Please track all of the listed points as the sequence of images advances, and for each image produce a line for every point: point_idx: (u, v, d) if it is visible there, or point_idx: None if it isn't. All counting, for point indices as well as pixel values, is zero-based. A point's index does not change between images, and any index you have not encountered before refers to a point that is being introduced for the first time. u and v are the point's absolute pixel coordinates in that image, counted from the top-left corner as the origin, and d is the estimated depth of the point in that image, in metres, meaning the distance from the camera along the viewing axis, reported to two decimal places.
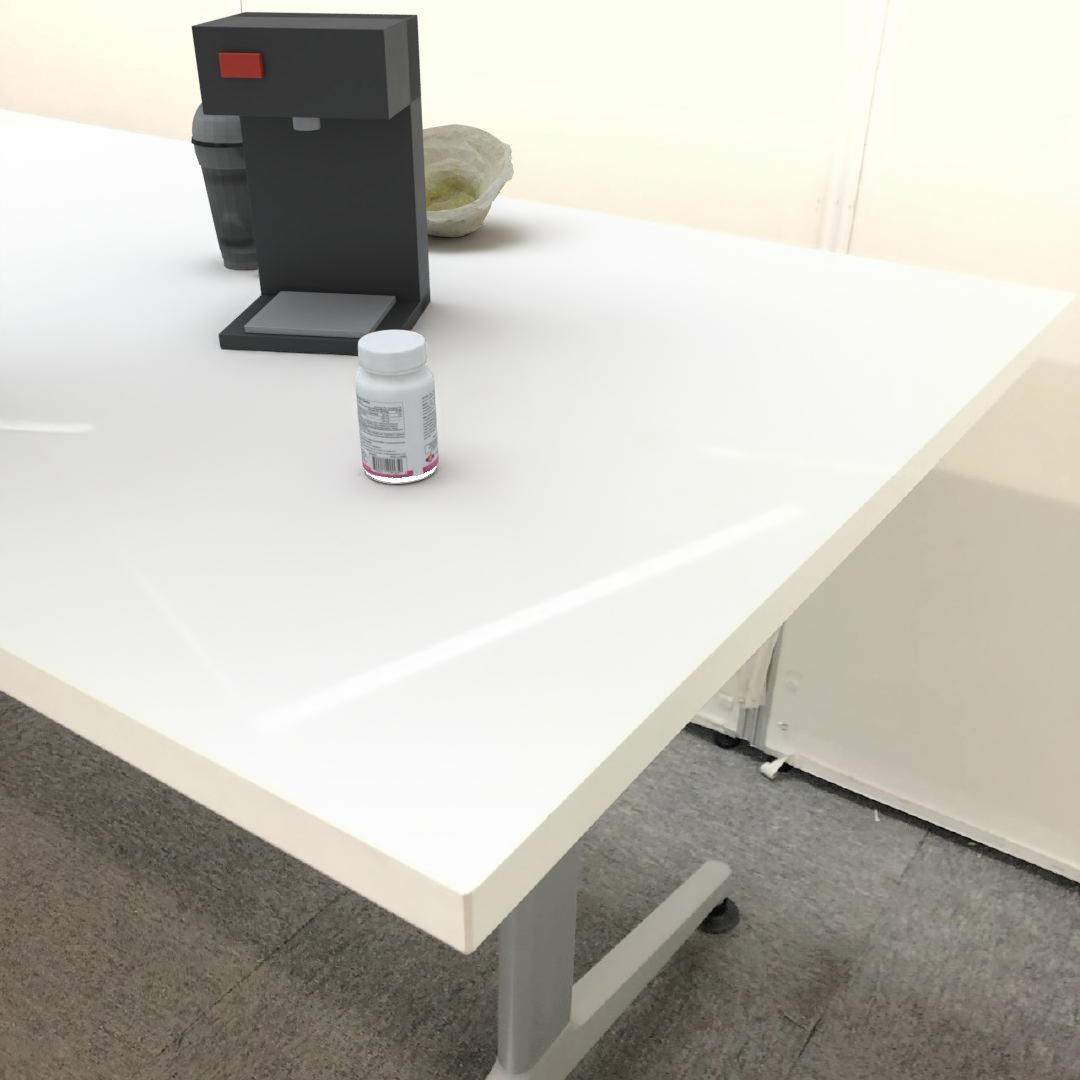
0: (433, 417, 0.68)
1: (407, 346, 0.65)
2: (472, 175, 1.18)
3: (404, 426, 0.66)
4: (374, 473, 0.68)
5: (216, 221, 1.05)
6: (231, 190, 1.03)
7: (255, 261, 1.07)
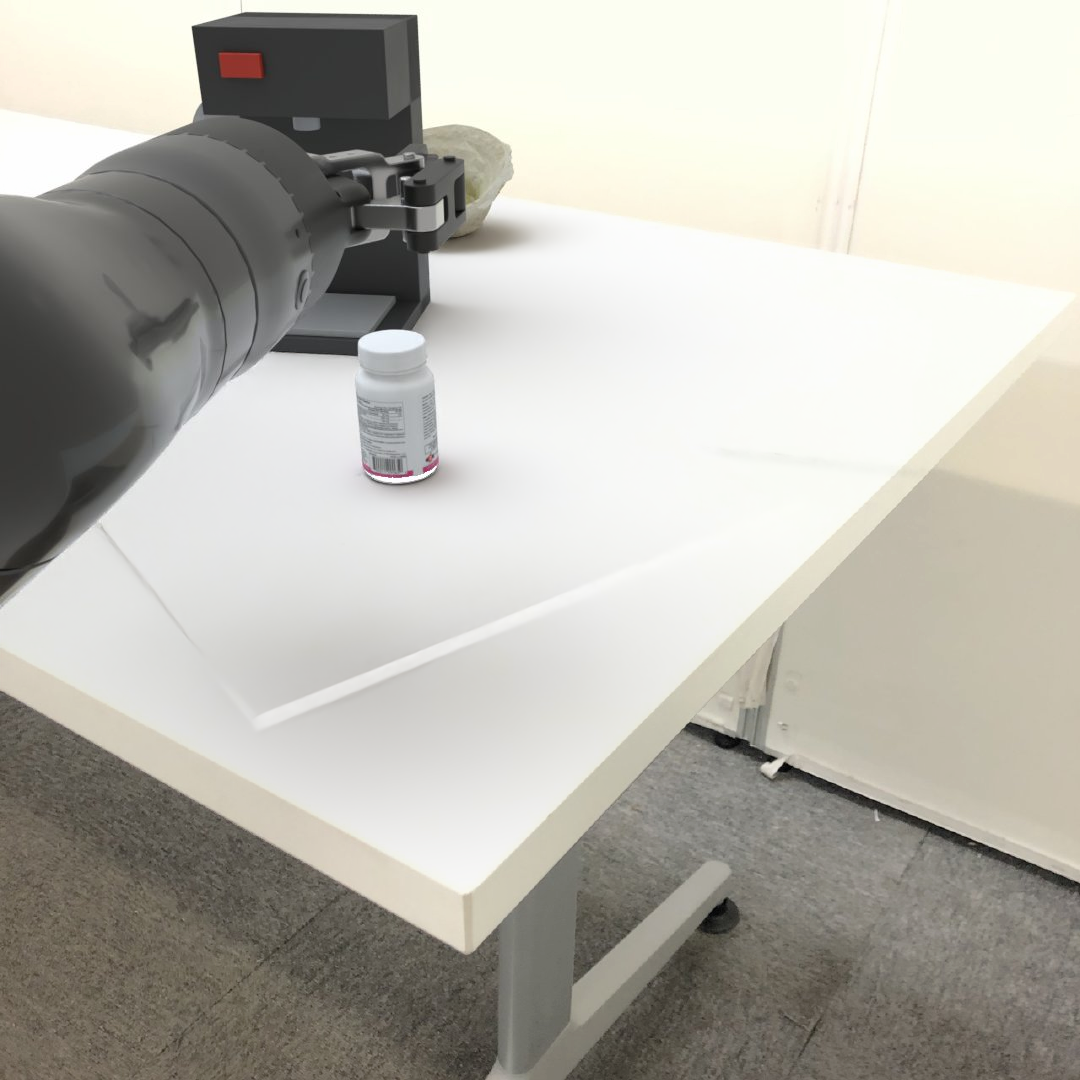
0: (433, 417, 0.68)
1: (407, 346, 0.65)
2: (472, 175, 1.18)
3: (404, 425, 0.66)
4: (374, 473, 0.68)
5: None
6: None
7: None
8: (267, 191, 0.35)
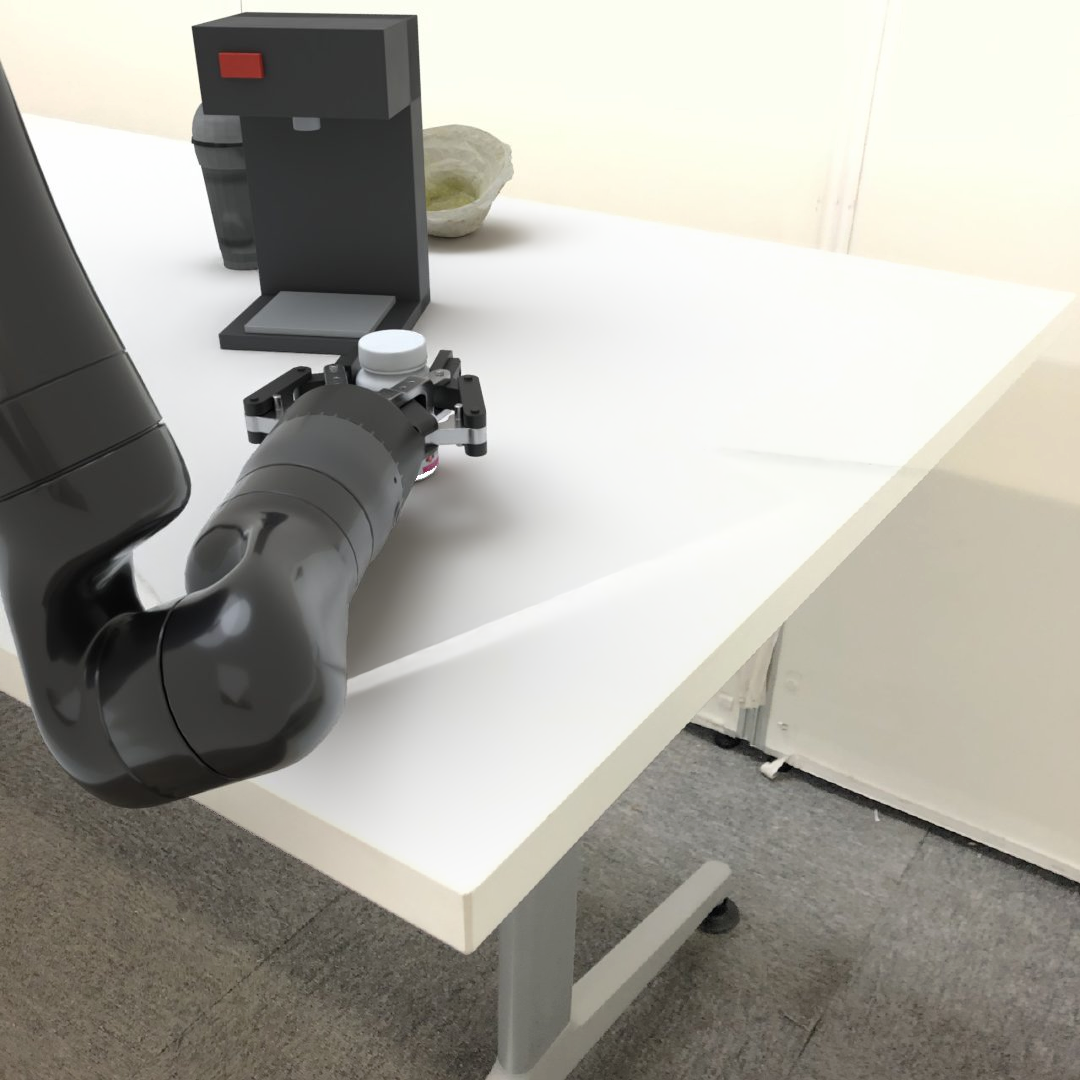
0: None
1: (408, 346, 0.65)
2: (472, 175, 1.18)
3: None
4: None
5: (216, 221, 1.05)
6: (231, 190, 1.03)
7: (255, 261, 1.07)
8: (377, 457, 0.53)
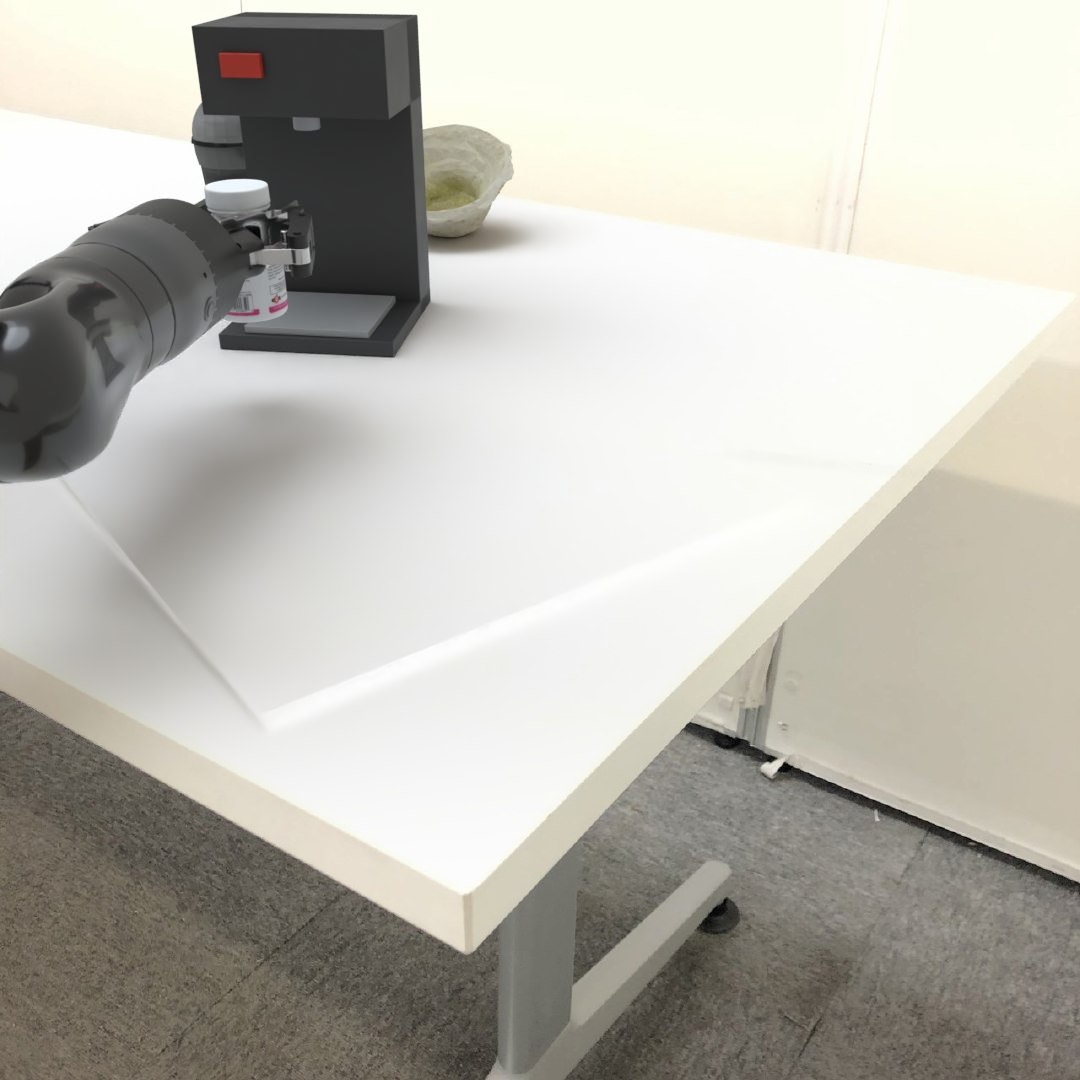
0: None
1: (248, 188, 0.71)
2: (472, 175, 1.18)
3: None
4: None
5: None
6: None
7: None
8: (185, 250, 0.58)
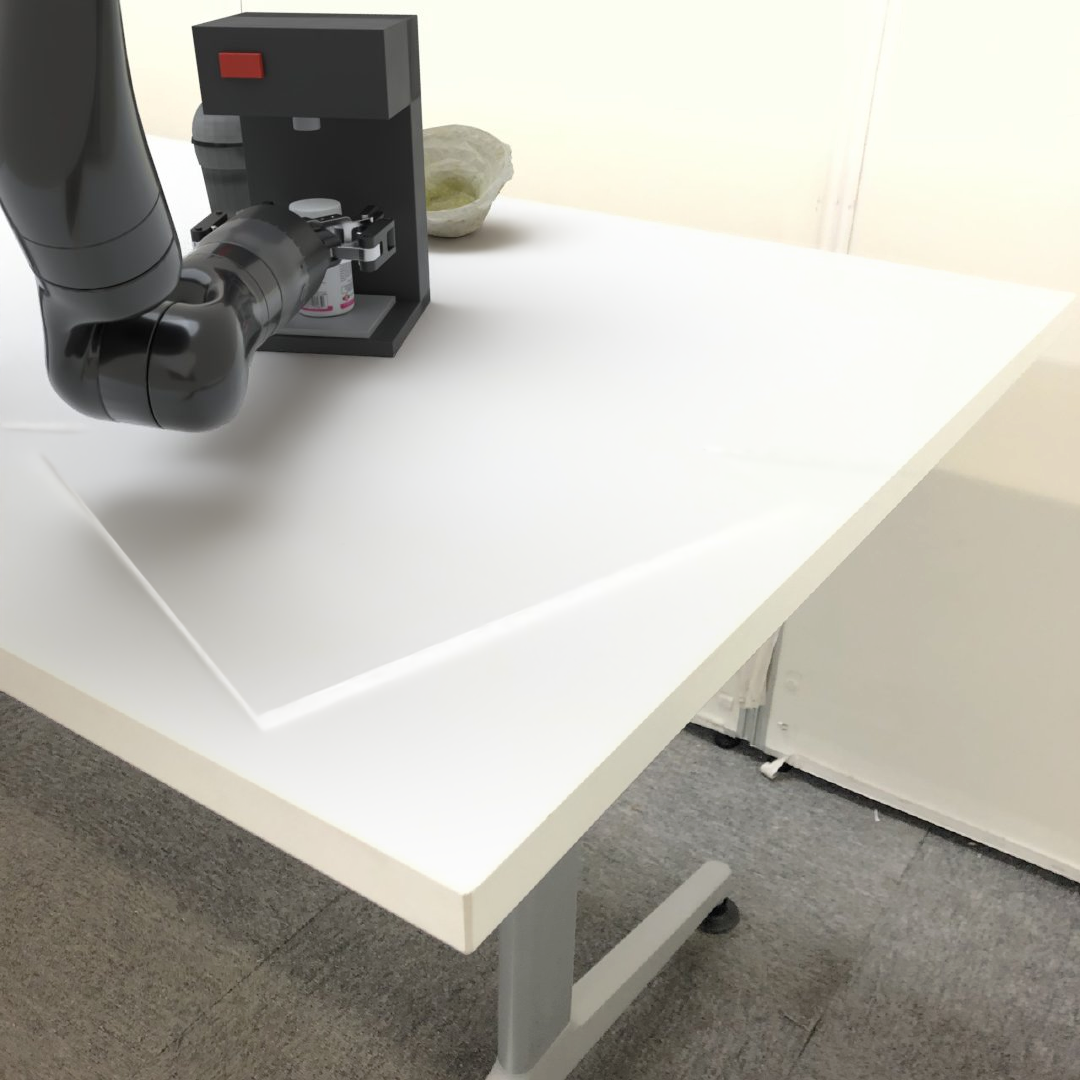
0: (348, 265, 0.89)
1: (326, 207, 0.86)
2: (472, 175, 1.18)
3: None
4: (303, 308, 0.90)
5: None
6: (231, 190, 1.03)
7: None
8: (287, 247, 0.74)
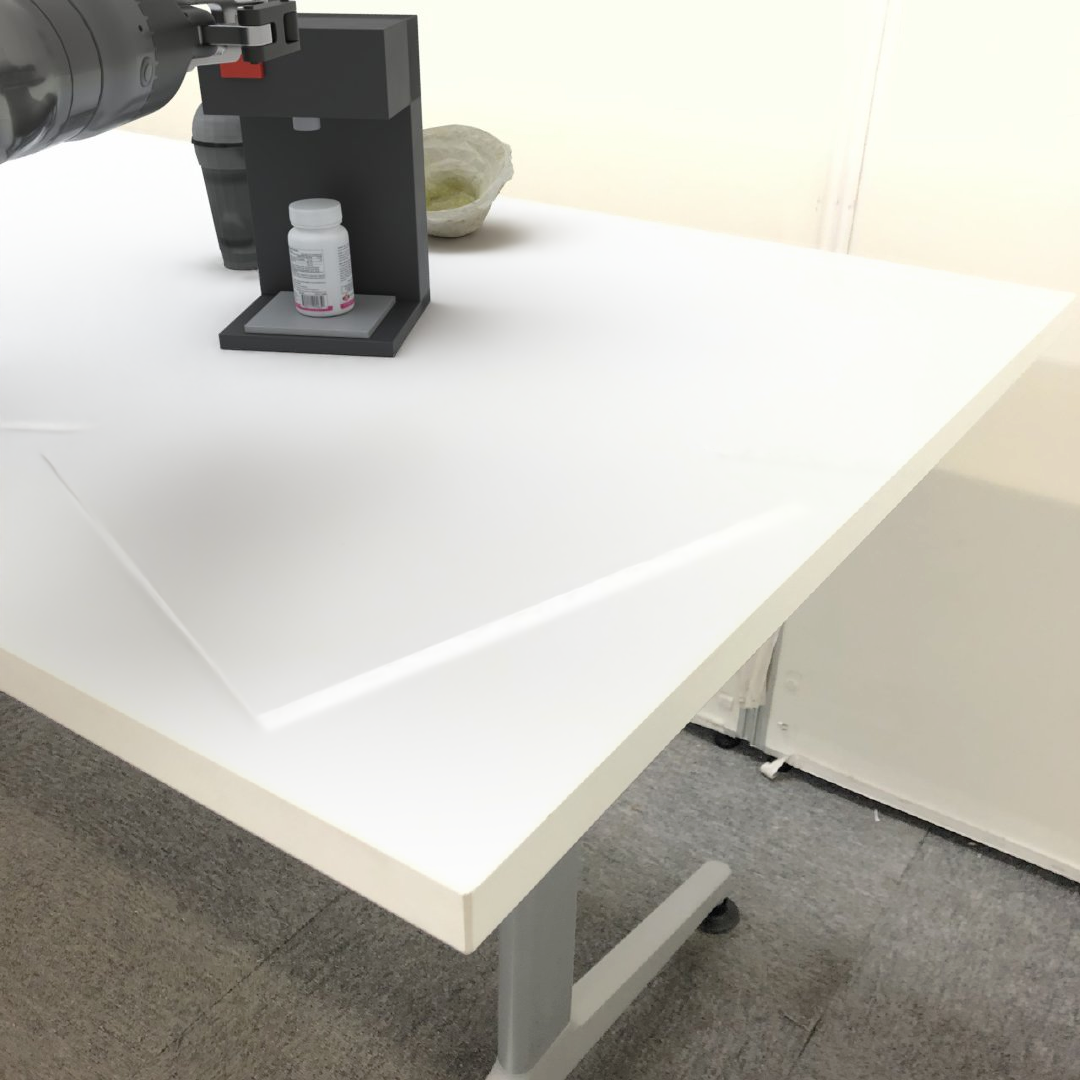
0: (348, 265, 0.89)
1: (326, 207, 0.86)
2: (472, 175, 1.18)
3: (324, 269, 0.88)
4: (303, 308, 0.90)
5: (216, 221, 1.05)
6: (231, 190, 1.03)
7: (255, 261, 1.07)
8: None
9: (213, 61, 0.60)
